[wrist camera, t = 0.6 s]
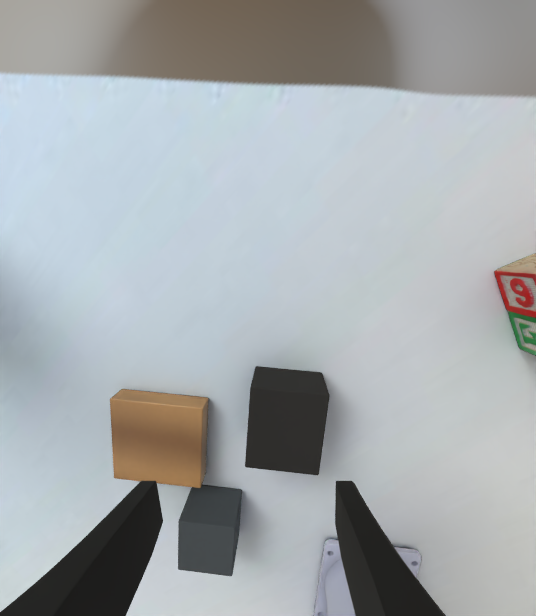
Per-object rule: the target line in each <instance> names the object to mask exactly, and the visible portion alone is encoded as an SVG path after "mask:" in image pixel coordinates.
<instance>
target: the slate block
mask: <svg viewBox="0 0 536 616" xmlns="http://www.w3.org/2000/svg"><path fill="white" fill-rule="evenodd" d="M241 496H242V490H241V489H232V488H223V487H215V486H206V485H201V488H195V487H192V488H191V491H190V493H189V496H188V499H187V501H186V504H185V506H184V509H183V511H182V514H181V516H180V519H179V537H178V569H179V570H186V571H194V572H202V573H210V574H218V575H225V576H232V574H233V568H234V562H235V555H236V549H237V542H238V536H239V525H240V511H241Z"/></svg>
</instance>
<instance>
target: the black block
mask: <svg viewBox="0 0 536 616" xmlns="http://www.w3.org/2000/svg"><path fill="white" fill-rule="evenodd" d="M328 402H329V392H328V390H327V387H326V384H325V381H324V378H323V375H322V373H320V372H309V371H299V370H288V369H278V368H268V367H255V372H254V376H253V380H252V384H251V389H250V404H249V418H248V433H247V447H246V462H245V467H249V468H258V469H267V470H276V471H285V472H294V473H303V474H312V475H318V474H319V468H320V460H321V453H322V446H323V439H324V431H325V424H326V417H327V410H328Z"/></svg>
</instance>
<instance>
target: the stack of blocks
mask: <svg viewBox="0 0 536 616" xmlns="http://www.w3.org/2000/svg"><path fill="white" fill-rule="evenodd" d="M494 272H495V276H496V279H497V282H498V286H499V289H500V292H501V295H502V298H503V301H504V304H505V307H506V309H507V310H508V311H509V317H510V321H511V324H512V327H513V330H514V333H515V336H516V340H517V343H518V346H519V348H520V349H521V350H524V351H526V352H528V353H531V354H533V355H535V356H536V253H535V254H532V255H530V256H527V257H525V258H523V259H520V260H518V261H515V262H513V263H511V264H508V265H506V266H503V267H501V268H499V269H497V270H496V271H494Z"/></svg>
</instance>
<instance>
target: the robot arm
mask: <svg viewBox="0 0 536 616" xmlns="http://www.w3.org/2000/svg"><path fill="white" fill-rule="evenodd" d="M162 523H163V518H162V513H161V507H160V501H159V495H158V489H157V483H156V481H141V482H140V483H139V484H138V485H137V486H136V487H135V488H134V489H133V490H132V491H131V492H130V493H129V494H128V495H127V496H126V497H125V498H124V499H123V500H122V501H121V502H120V503H119V504H118V505H117V506H116V507H115V508H114V509H113V510H112V511H111V512H110V513H109V514H108V515H107V516H106V517H105V518H104V519H103V520H102V521H101V522H100V523H99V524H98V525H97V526H96V527H95V528H94V529H93V530H92V531H91V532H90V533H89V534H88V535H87V536H86V537H85V538H84V539H83V540H82V541H81V542H80V543H79V544H78V545H77V546H76V547H74V548H73V549H72V550H71V551H70V552H69V553H68V554H67V555H66V556H65V557H64V558H63V559H62V560H61V561H60V562H58V563H57V564H56V565H55V566H54V567H53V568H52V569H51V570H50V571H49V572H47V573H46V574H45V575H44V576H43V577H42V578H41V579H40V580H38V581H37V582H36V583H35V584H34V585H33V586H31V587H30V588H29V589H28V590H27V591H25V592H24V593H23V594H22V595H21V596H20V597H18V598H17V599H16V600H15V601H14V602H12V603H11V604H10V605H9V606H7V607H6V608H5V609H4V610H3V611H1V612H0V616H126V614H127V611H128V609H129V607H130V604H131V602H132V600H133V597H134V595H135V593H136V591H137V588H138V586H139V584H140V581H141V579H142V577H143V574H144V572H145V570H146V567H147V565H148V563H149V560H150V558H151V556H152V553H153V550H154V547H155V544H156V541H157V538H158V535H159V532H160V529H161V526H162ZM335 524H336V530H337V536H338V540H333V539H328V540H326V541H325V543H324V550H323V556H322V563H321V569H320V576H319V582H318V589H317V595H316V602H315V608H314V615H313V616H446V615H445V614H444V613H443V612H442V610H441V609H440V608H439V607H438V605H437V604H436V603H435V602H434V600H433V599H432V598H431V597H430V595H429V594H428V593H427V592H426V590H425V589H424V588H423V586H422V585H421V584H420V582H419V581H418V580H417V575H418V571H419V567H420V563H421V555H420V553H419V551H417V550H415V549H407V548H399V547H393V545H392V544H391V542H390V541H389V539H388V538H387V536H386V535H385V533H384V532H383V530H382V529H381V527H380V526H379V524H378V523H377V521H376V519H375V518H374V516H373V515H372V513H371V511H370V510H369V508H368V506H367V505H366V503H365V501H364V500H363V498H362V496H361V495H360V493H359V491H358V489H357V487H356V485H355V484H354V483H353V482H352V481H336V510H335Z"/></svg>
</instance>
